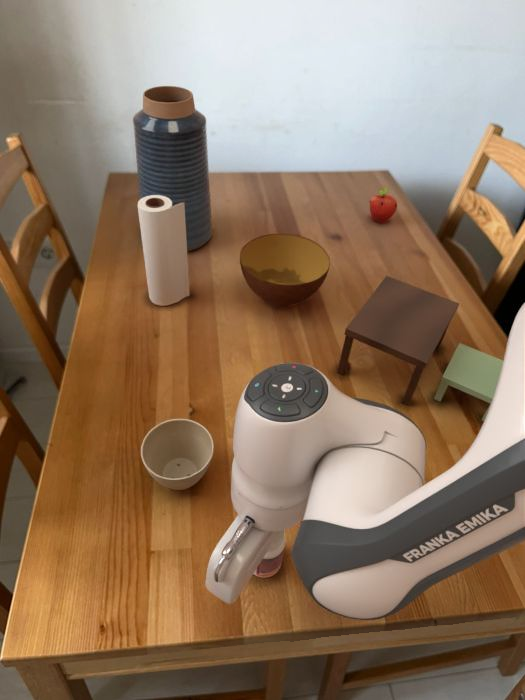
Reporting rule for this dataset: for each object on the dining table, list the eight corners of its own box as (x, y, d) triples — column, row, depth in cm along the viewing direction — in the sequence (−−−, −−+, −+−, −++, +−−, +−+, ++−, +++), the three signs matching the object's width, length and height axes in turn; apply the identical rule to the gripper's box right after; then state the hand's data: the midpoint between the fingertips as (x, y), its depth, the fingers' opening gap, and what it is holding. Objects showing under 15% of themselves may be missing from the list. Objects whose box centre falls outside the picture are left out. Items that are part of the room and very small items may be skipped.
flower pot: (131, 482, 75) (125, 454, 70) (176, 436, 81) (173, 407, 76) (184, 519, 71) (181, 492, 66) (227, 468, 77) (228, 440, 72)
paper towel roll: (143, 300, 104) (130, 204, 89) (160, 284, 108) (151, 190, 93) (172, 312, 102) (164, 216, 87) (189, 296, 106) (184, 201, 91)
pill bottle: (287, 554, 68) (294, 524, 62) (270, 585, 65) (275, 557, 59) (257, 536, 70) (260, 505, 64) (238, 565, 67) (240, 536, 61)
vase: (184, 262, 114) (174, 116, 92) (128, 238, 119) (106, 95, 97) (225, 231, 124) (226, 92, 102) (172, 210, 130) (162, 74, 108)
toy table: (440, 347, 99) (459, 303, 91) (408, 407, 88) (426, 363, 80) (374, 319, 104) (386, 275, 96) (335, 373, 93) (345, 328, 85)
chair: (503, 388, 92) (539, 326, 82) (489, 425, 86) (526, 364, 75) (449, 365, 95) (477, 303, 85) (432, 399, 89) (459, 337, 79)
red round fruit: (365, 212, 134) (373, 176, 127) (390, 214, 135) (400, 178, 128) (368, 228, 129) (376, 191, 122) (395, 230, 129) (405, 193, 122)
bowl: (225, 284, 109) (225, 243, 102) (296, 265, 116) (301, 226, 109) (262, 335, 99) (266, 294, 92) (339, 311, 105) (347, 271, 98)
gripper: (243, 586, 47) (238, 634, 57) (340, 435, 60) (322, 495, 69) (188, 549, 49) (193, 602, 59) (293, 410, 62) (282, 472, 72)
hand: (263, 543), depth 64 cm, fingers open, 8 cm apart
